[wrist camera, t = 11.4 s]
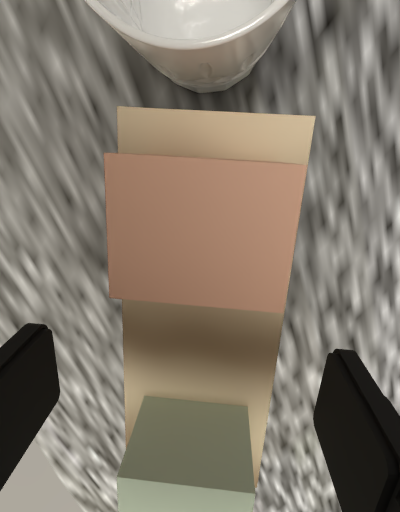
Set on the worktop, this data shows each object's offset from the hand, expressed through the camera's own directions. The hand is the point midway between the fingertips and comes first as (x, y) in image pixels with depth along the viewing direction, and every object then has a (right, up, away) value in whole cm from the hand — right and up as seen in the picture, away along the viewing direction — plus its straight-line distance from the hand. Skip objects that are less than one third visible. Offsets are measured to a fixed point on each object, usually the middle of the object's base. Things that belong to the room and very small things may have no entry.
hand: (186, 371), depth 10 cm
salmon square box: (+1, +6, +2) cm, 6 cm away
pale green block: (0, -5, +5) cm, 7 cm away
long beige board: (+1, +2, +8) cm, 8 cm away
